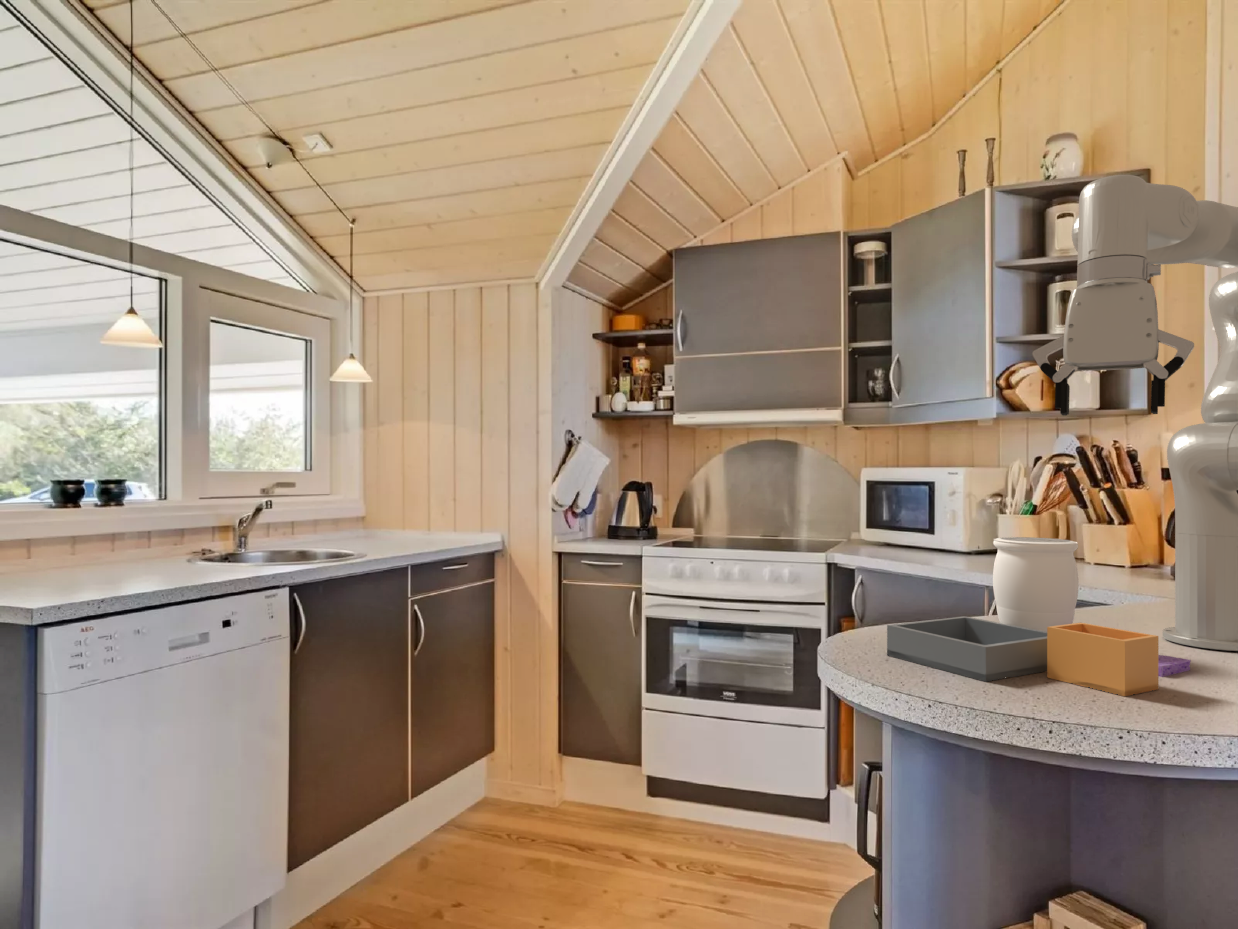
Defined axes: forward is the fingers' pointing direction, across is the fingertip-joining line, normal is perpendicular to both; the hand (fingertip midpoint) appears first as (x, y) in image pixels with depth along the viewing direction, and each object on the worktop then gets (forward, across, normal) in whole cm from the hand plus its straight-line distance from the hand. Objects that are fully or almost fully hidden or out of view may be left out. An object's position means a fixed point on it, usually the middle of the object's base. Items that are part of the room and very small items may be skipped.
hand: (1108, 413), depth 101 cm
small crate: (+32, 0, +8) cm, 33 cm away
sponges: (+32, -2, -6) cm, 33 cm away
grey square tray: (+32, +14, +5) cm, 35 cm away
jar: (+32, +9, -9) cm, 34 cm away
